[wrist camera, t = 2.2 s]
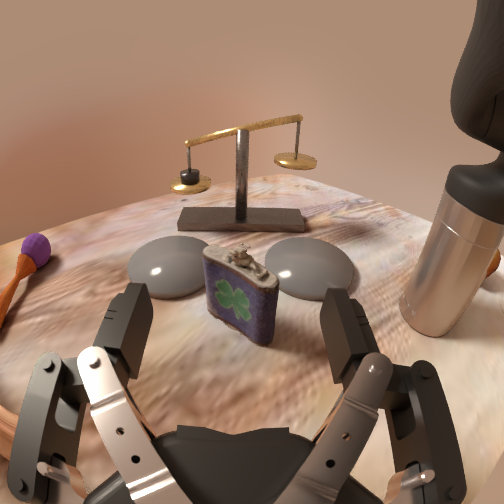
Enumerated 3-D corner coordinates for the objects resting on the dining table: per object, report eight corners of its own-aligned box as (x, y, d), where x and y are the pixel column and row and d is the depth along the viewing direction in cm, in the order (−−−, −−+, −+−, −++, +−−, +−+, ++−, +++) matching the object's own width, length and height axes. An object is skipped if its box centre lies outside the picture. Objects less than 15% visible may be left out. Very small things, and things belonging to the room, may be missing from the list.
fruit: (480, 267, 41) (496, 235, 36) (492, 294, 35) (512, 259, 30) (453, 259, 43) (468, 224, 38) (463, 287, 37) (483, 249, 32)
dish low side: (219, 242, 45) (218, 236, 44) (212, 300, 34) (211, 293, 34) (143, 241, 44) (141, 235, 44) (117, 296, 34) (115, 289, 33)
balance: (303, 214, 53) (315, 113, 42) (311, 233, 48) (327, 120, 36) (178, 213, 53) (171, 111, 41) (170, 232, 47) (159, 117, 35)
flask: (203, 310, 33) (195, 235, 27) (219, 297, 35) (216, 224, 29) (264, 351, 28) (273, 277, 22) (279, 335, 30) (292, 260, 24)
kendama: (-29, 314, 22) (27, 229, 37) (-6, 339, 26) (42, 254, 41) (-15, 315, 21) (45, 223, 37) (11, 342, 25) (61, 250, 40)
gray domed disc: (338, 244, 46) (340, 238, 45) (362, 298, 35) (365, 292, 34) (262, 242, 45) (262, 236, 44) (267, 301, 35) (268, 294, 34)
